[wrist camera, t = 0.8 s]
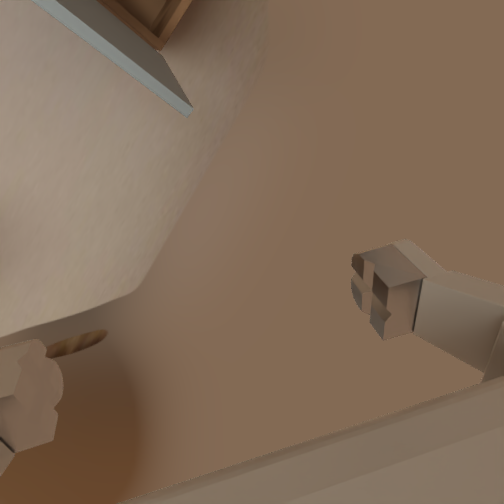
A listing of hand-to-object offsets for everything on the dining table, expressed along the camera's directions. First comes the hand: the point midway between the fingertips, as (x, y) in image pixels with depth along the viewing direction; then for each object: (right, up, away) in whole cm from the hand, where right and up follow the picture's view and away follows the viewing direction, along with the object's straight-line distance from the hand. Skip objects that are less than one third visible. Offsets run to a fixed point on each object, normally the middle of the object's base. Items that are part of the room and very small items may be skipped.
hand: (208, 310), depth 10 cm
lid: (-11, +20, +18) cm, 29 cm away
